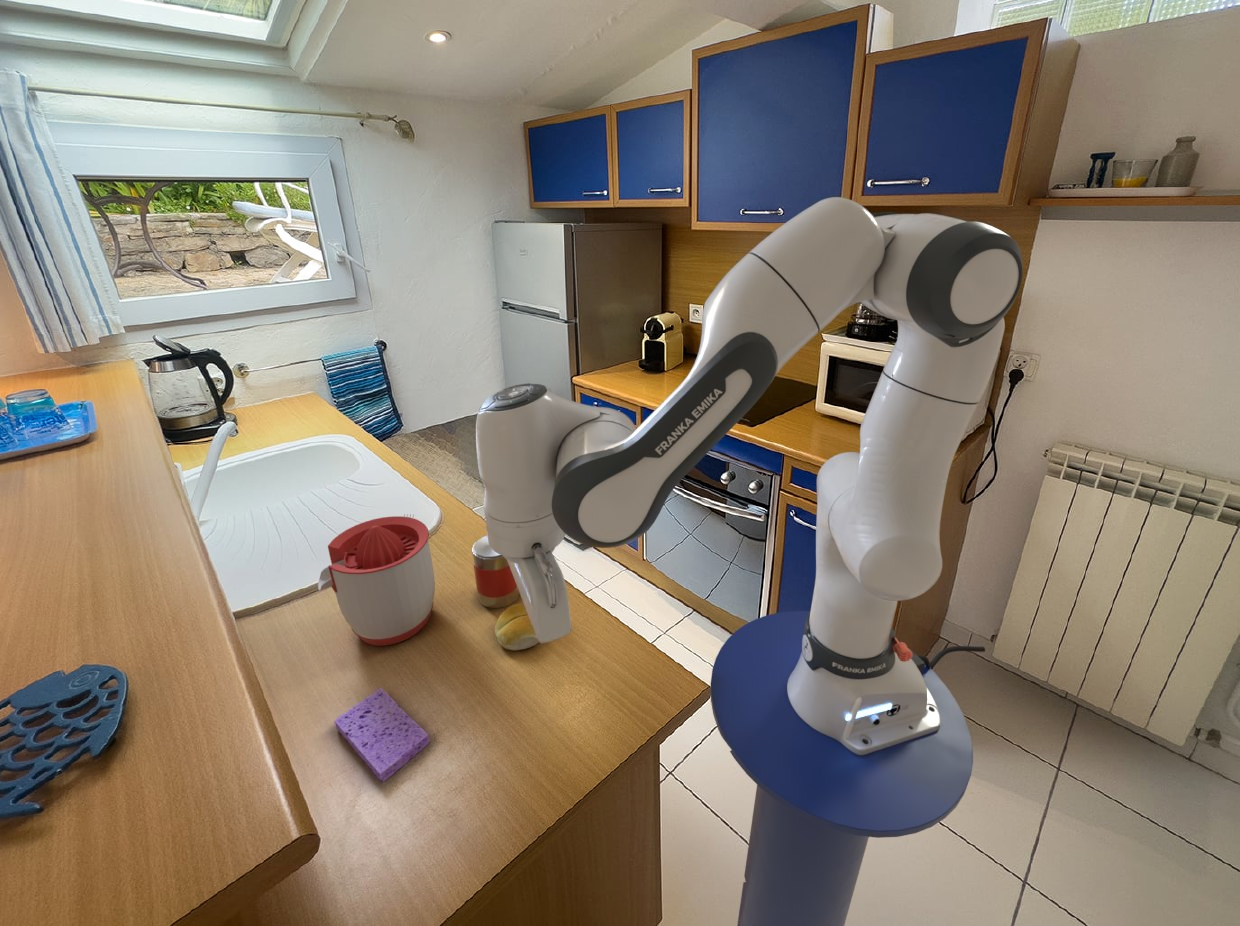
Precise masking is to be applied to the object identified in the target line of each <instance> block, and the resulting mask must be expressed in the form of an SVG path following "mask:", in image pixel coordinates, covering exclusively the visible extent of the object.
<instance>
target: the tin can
mask: <svg viewBox="0 0 1240 926" xmlns="http://www.w3.org/2000/svg"><path fill="white" fill-rule="evenodd" d="M471 551H472V559H473V560H472V563H473V570H474V571H473V572H474V578H475V585H476V591H477V596H478V602H479V603H480V604H481V605H482V606H484V607H486V608H489V609H500V608H501V609H502V608H505V607H508V606H511V605H512V604H513V603H514V602H516V600H517V599H518V598H519V596H520V592H519V590H518V587H517V585H516V582H515V579H514V577H513V574H512V572H511V569H510V566H509V564H508V561H507V559H505V558H504V557H503V555H500V554H498V553H496V552H495V551H494V550H493V549H492V548H491V547H490V545H489V542H488V535H484V536H482V537H481V538H479V539H478V540H476V541H475V542H474V544H473V545H472V548H471Z"/></svg>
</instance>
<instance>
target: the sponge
mask: <svg viewBox="0 0 1240 926" xmlns="http://www.w3.org/2000/svg"><path fill="white" fill-rule="evenodd" d="M333 722H334V724H335V727H336V730H337V731H338V732H339V733H340V734H341V736H342V737H343V738H344V739H345V740H347V743H348V744H349V745H350V746H351V747H352V749H353V750H354V751H355V753H356V754H357V755H358V757H360V758H361V759H362V761H364V763H365V764H366V766H367V767H368V768H369V769H370V770H371V771H372V773H373V774H374V775H375V776H376V778H377V779H378V780H379V781H382V783H384V782H385V781H387V779H389V778H390V777H392V776H393V775H394V774H395V773H396V772H397V771H398V770H400V769H401V768H403V767H404V765H406V764H407V763H408V762H409V761H410V759H413V758H414V757H415V756H417V754H418V753H420V752H421V751H422V750H423V749H425V748H426V747H427V746H428V745H429V743H430V742H431V740H430V735H429V734H428V733H427V732H426V731H425V729H424V728H422V727H421V726H420V725H419V724H418V723H417V721H415V720H414V719H412V717H410V716H409V715H408V713H406V711H405V710H403V708H401V707H399V704H398V703H397V702H396V701H395V700H394V699H393V698H392V697H391V696H390V695H389V694H388V693H387V692H386V691H385V690H384V689H383V688H382V687H379V688H377V689H376V690H374V691H373V692H372V693H370V694H369V695H368V696H366V697H364V699H363V701H359V702H358V703H356V704H355V705H353V707H352V708H350V709H349V710H347V711H346V712H343V713H342V714H341V715H339V716H338V717H337V718H335V719H334V720H333Z"/></svg>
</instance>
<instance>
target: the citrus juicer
mask: <svg viewBox="0 0 1240 926" xmlns="http://www.w3.org/2000/svg"><path fill="white" fill-rule="evenodd" d="M429 538H430V532H429V529H428V527H427V525H426V524H425V523H424V522H423V521H421V520H419V519H416V518H414V517H410V516H409V517H408V516H402V515H401V516H397V515H396V516H395V515H394V516H385V517H379V518H373V519H370V520H368V521H364V522H360V523H359V524H355V525H354V526H352V527H349V528H347V529H346V530H344V531H343V532H341V533H339V534H338V535H337V536H336V537H335V538H333V539H332V540H331V542H329V544H328V545H327V549H328V554H329V558H330V563H331V564H329V565H328V566H326V567H325V568H323V569H322V570H321V571H320V575H319V579H318V584H317V589H318V591H319V592H320V591H323V590H326V589H328V588H331V587H332V590H333V591H334V594H335V596H336V601H337V604H338V608H339V610H340V612H341V615H342V616H343V618H344V619H345V622H346V623H347V625H348V626H349V627H350V628H351V631H352V632H353V633H354V634H355V635H356V636H357V637H358V638H359V639H360V640H362V642H364V643H366V644H368V645H372V646H390V645H394V644H399V643H401V642H403V641H405V640H408V639H410V638H411V637H413V636H415V635H416V634H418V632H420V631H421V630H422V629H423V628H424V627H425V626H426V624H427V623H428V621H429V619H430V617H431V614H432V611H433V608H434V598H435V590H436V581H435V571H434V566H433V560H432V552H431V548H430V541H429Z"/></svg>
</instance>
